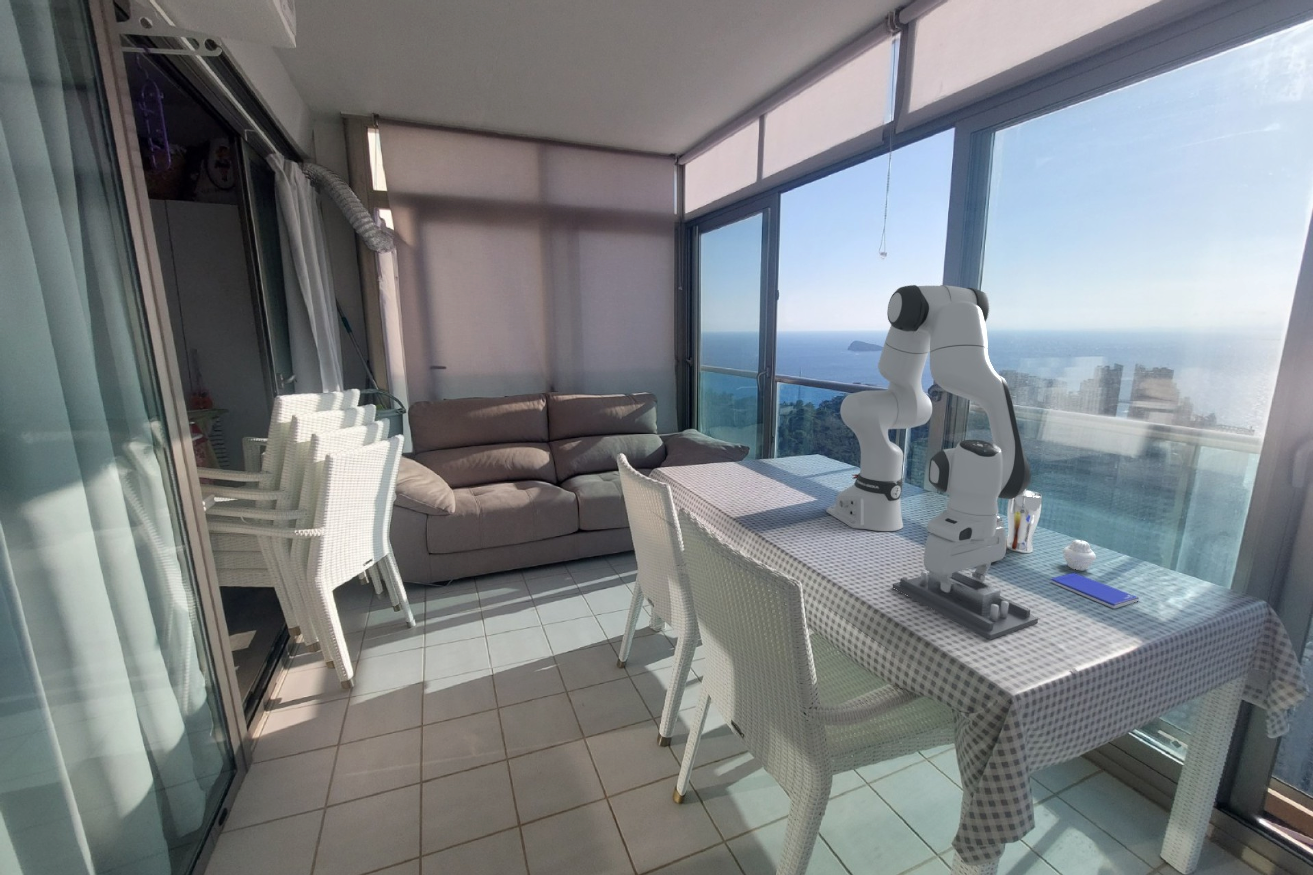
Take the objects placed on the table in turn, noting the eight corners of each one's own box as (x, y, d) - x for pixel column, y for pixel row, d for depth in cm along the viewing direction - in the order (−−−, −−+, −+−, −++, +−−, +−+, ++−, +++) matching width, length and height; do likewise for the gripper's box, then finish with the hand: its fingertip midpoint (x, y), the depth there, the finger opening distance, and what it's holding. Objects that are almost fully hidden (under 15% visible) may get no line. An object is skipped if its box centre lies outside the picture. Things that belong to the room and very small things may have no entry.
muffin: (1059, 568, 126) (1063, 540, 125) (1061, 560, 131) (1066, 533, 129) (1093, 575, 122) (1097, 547, 121) (1094, 567, 127) (1098, 539, 125)
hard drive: (1139, 596, 111) (1074, 572, 122) (1114, 603, 108) (1051, 578, 119) (1138, 603, 111) (1073, 578, 122) (1113, 611, 108) (1050, 584, 119)
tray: (892, 587, 117) (894, 571, 116) (936, 575, 122) (938, 559, 122) (990, 640, 97) (992, 620, 96) (1037, 622, 103) (1040, 603, 102)
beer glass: (999, 548, 137) (1007, 493, 134) (1005, 540, 142) (1012, 487, 139) (1032, 556, 133) (1040, 498, 130) (1037, 548, 138) (1045, 492, 135)
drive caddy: (927, 589, 114) (929, 569, 113) (943, 584, 116) (945, 565, 115) (981, 616, 103) (984, 594, 102) (997, 610, 105) (1000, 589, 104)
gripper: (989, 509, 113) (981, 570, 116) (921, 524, 105) (914, 589, 108) (1019, 519, 108) (1010, 582, 110) (950, 535, 99) (942, 603, 102)
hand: (962, 585), depth 109 cm, fingers open, 8 cm apart
